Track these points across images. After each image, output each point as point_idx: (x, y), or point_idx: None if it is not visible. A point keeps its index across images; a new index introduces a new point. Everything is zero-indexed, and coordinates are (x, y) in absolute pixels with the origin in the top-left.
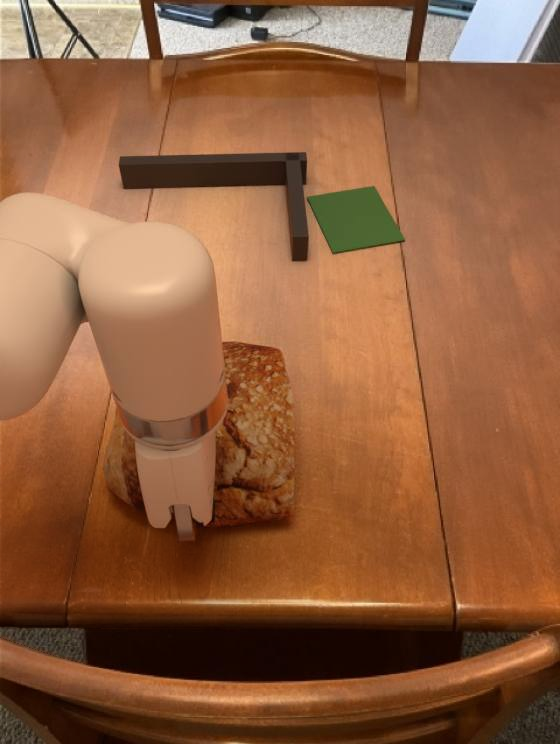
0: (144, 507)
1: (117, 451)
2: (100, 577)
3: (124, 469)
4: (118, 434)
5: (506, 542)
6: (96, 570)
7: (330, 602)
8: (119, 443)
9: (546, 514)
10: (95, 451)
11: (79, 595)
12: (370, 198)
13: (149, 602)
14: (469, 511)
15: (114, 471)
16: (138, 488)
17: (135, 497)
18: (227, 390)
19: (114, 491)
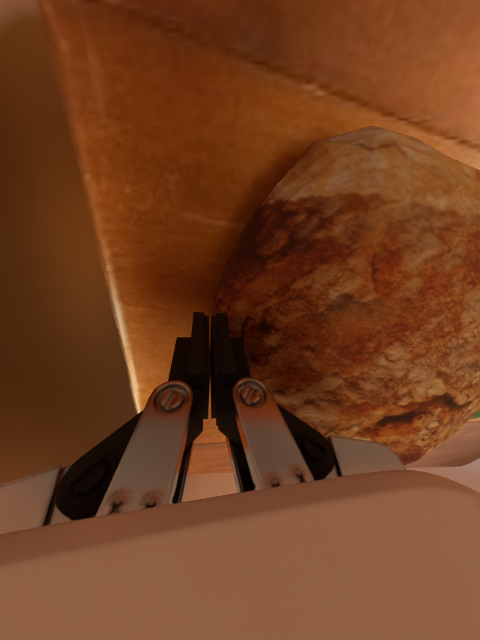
0: (249, 233)
1: (406, 181)
2: (129, 109)
3: (343, 201)
4: (456, 188)
5: (192, 462)
6: (144, 97)
7: (137, 399)
8: (428, 190)
9: (208, 471)
10: (410, 109)
11: (73, 33)
12: (474, 415)
13: (97, 221)
14: (214, 452)
15: (350, 165)
16: (283, 234)
17: (269, 219)
18: (412, 458)
19: (303, 159)
